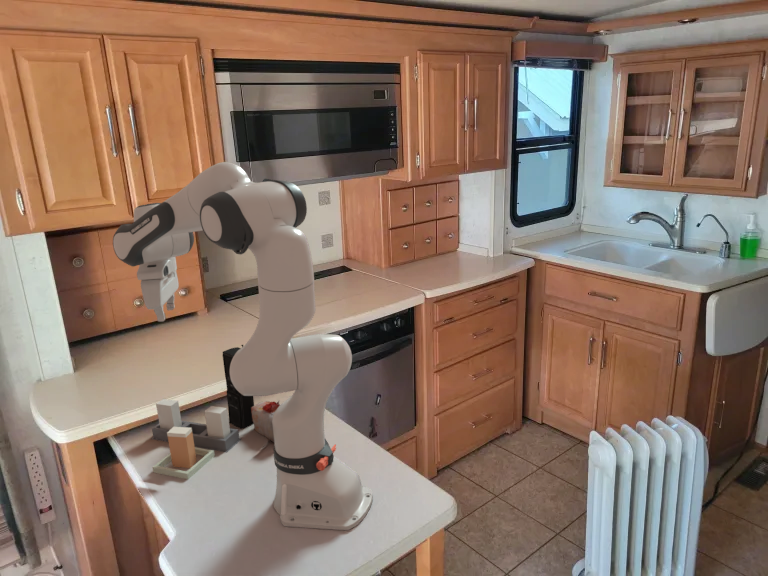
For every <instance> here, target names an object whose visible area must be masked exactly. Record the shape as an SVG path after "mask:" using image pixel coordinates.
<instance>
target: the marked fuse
mask: <svg viewBox="0 0 768 576" xmlns="http://www.w3.org/2000/svg"><path fill="white" fill-rule="evenodd" d="M167 436H168V442H167V443H168V447H169V453H171V459H172V460H171V463H172V467H173V468H174V467H175V468H183V469H184V468H186V469H190V468H191V467H193V466H194V465H195V464H196V463H197V462H198V460H197V455H196V453H195V446H194V440H193V434H192V428H188V427H173V428H172V429H170V430H169V431H168V432H167Z"/></svg>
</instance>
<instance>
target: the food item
mask: <svg viewBox="0 0 768 576" xmlns="http://www.w3.org/2000/svg"><path fill="white" fill-rule="evenodd" d="M280 405H281V403H280V400H278V401H277V402H276V401H260V402H258V403H256V404H254V406H253V407H251V413H252V419H253V420H252V421H253V423H254V424H253V427H254V428H253V429H254V431H255V432H257V433H258V434H260V435H261V436H263V437H265V438H266V439H268V440H269V441H271V442H272V443H274V434H273V425H272V419H273V415H274V413H275V411H276V410H277V408H278V407H279V406H280Z"/></svg>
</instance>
